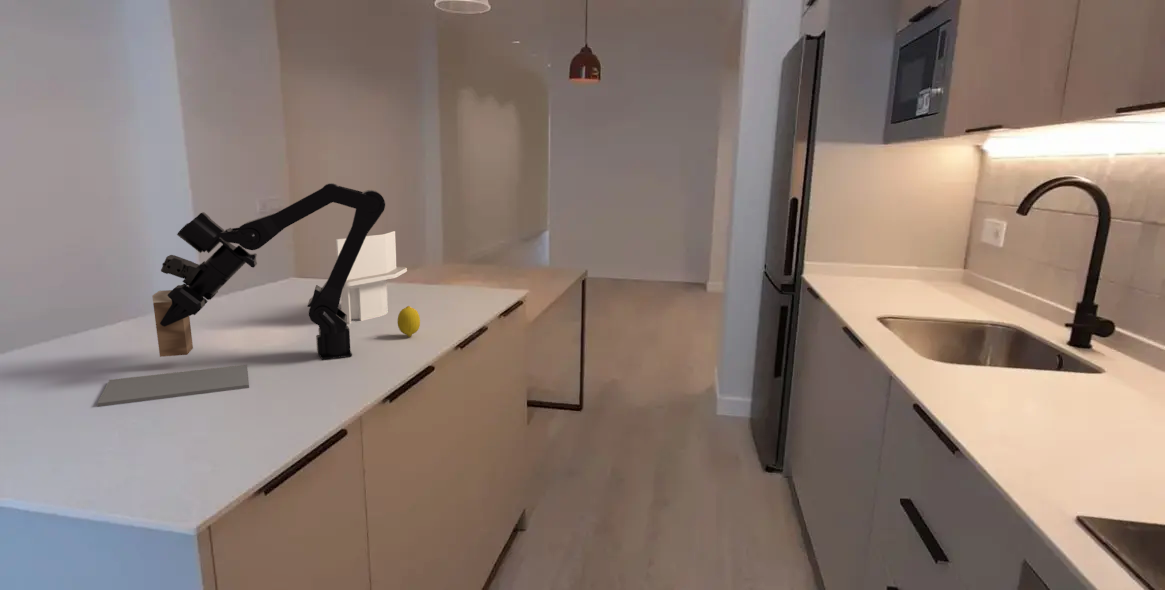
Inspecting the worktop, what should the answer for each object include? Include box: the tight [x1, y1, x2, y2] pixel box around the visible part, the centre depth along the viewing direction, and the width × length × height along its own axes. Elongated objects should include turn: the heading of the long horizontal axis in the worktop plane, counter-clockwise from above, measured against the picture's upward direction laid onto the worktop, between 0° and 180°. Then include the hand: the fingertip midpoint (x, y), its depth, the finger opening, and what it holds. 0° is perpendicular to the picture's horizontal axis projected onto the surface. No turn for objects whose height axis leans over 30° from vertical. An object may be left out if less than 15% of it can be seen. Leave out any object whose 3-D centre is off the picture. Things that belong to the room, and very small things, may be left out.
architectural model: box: [335, 230, 408, 325], centre depth 185 cm, size 28×21×23 cm
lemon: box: [397, 305, 421, 338], centre depth 164 cm, size 6×6×8 cm
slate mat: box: [96, 364, 250, 407], centre depth 127 cm, size 24×14×1 cm, turn 118°
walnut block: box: [151, 289, 194, 358], centre depth 136 cm, size 5×5×13 cm
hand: (165, 322), depth 136 cm, fingers closed on walnut block, 5 cm apart
